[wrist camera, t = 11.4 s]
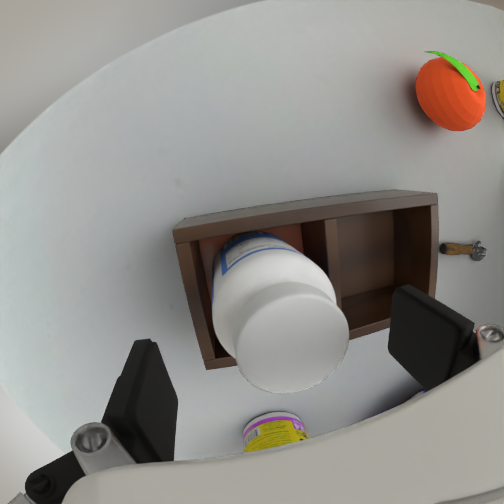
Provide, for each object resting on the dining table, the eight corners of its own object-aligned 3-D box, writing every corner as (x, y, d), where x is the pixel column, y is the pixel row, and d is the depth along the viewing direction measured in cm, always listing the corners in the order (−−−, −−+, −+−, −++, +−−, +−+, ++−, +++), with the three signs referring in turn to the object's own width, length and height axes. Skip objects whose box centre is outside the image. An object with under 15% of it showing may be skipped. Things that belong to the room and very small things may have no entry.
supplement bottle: (304, 437, 27) (338, 524, 14) (249, 450, 26) (265, 542, 14) (299, 401, 25) (340, 503, 13) (235, 416, 25) (250, 525, 12)
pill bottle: (273, 318, 22) (318, 418, 11) (200, 292, 20) (189, 391, 10) (308, 247, 21) (391, 305, 10) (232, 214, 20) (253, 248, 9)
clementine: (381, 87, 19) (432, 63, 12) (408, 49, 18) (453, 24, 12) (437, 149, 21) (491, 145, 14) (457, 106, 20) (505, 96, 13)
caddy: (183, 218, 20) (172, 229, 15) (394, 189, 21) (437, 193, 16) (207, 329, 22) (206, 370, 17) (396, 288, 24) (433, 311, 18)
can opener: (437, 252, 23) (445, 255, 22) (442, 229, 23) (450, 231, 22) (481, 262, 25) (487, 264, 24) (485, 243, 24) (492, 245, 23)
